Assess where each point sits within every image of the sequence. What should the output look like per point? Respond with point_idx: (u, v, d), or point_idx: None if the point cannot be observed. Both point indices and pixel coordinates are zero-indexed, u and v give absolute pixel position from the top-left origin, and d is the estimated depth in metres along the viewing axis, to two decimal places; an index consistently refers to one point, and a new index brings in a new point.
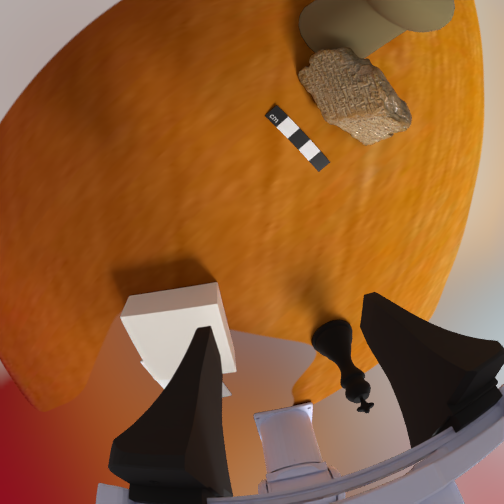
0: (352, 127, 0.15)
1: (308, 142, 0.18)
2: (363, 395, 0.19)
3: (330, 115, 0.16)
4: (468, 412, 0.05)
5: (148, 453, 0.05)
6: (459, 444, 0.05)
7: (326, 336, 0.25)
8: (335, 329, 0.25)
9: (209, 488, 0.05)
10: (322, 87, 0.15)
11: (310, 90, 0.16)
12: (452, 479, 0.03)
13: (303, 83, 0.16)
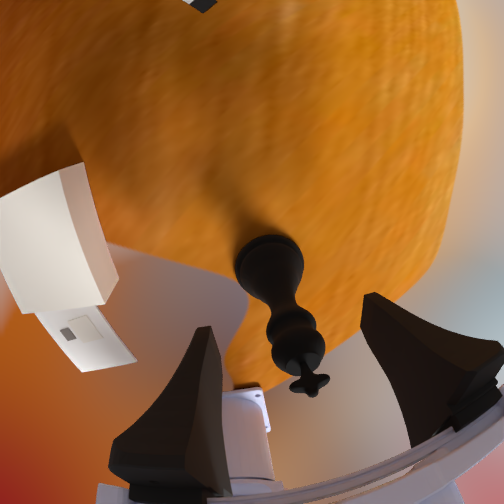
0: None
1: None
2: (306, 357, 0.10)
3: None
4: (468, 412, 0.05)
5: (149, 452, 0.05)
6: (459, 444, 0.05)
7: (252, 257, 0.16)
8: (267, 246, 0.16)
9: (209, 488, 0.05)
10: None
11: None
12: (452, 479, 0.03)
13: None
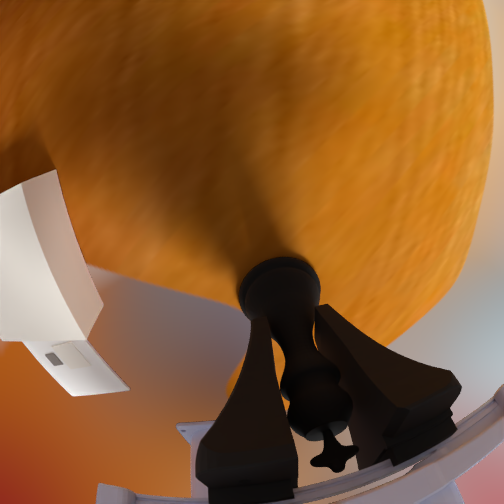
0: None
1: None
2: (331, 425, 0.07)
3: None
4: (409, 446, 0.05)
5: (252, 448, 0.05)
6: (459, 444, 0.05)
7: (260, 286, 0.13)
8: (279, 273, 0.13)
9: (294, 478, 0.05)
10: None
11: None
12: (452, 479, 0.03)
13: None
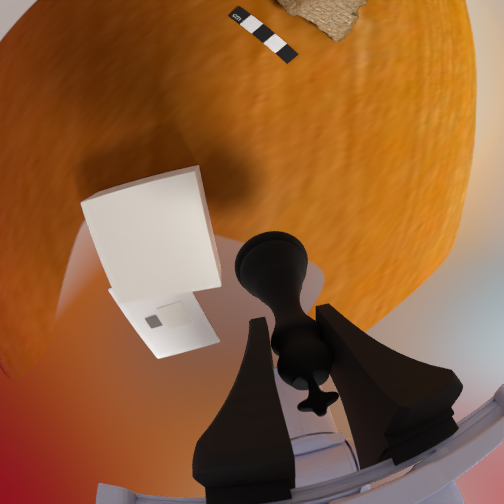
0: (314, 12, 0.12)
1: (273, 35, 0.14)
2: (313, 374, 0.09)
3: (291, 4, 0.12)
4: (411, 446, 0.05)
5: (249, 449, 0.05)
6: (459, 444, 0.05)
7: (251, 259, 0.15)
8: (267, 246, 0.15)
9: (292, 478, 0.05)
10: None
11: None
12: (452, 479, 0.03)
13: None
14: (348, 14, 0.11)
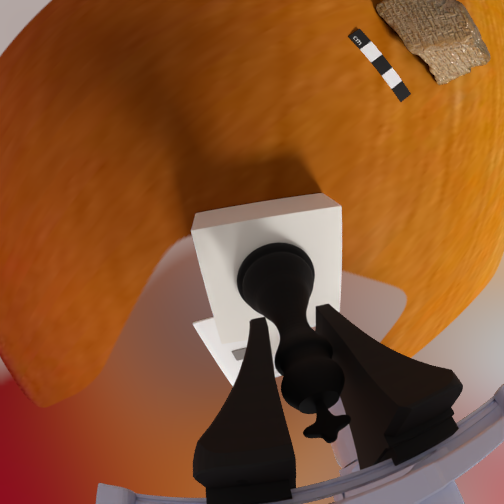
0: (436, 57, 0.11)
1: (390, 69, 0.13)
2: (322, 396, 0.08)
3: (415, 43, 0.11)
4: (410, 446, 0.05)
5: (249, 448, 0.05)
6: (459, 444, 0.05)
7: (253, 272, 0.14)
8: (269, 258, 0.14)
9: (292, 478, 0.05)
10: (405, 17, 0.10)
11: (390, 21, 0.11)
12: (452, 479, 0.03)
13: (382, 15, 0.11)
14: (465, 68, 0.10)
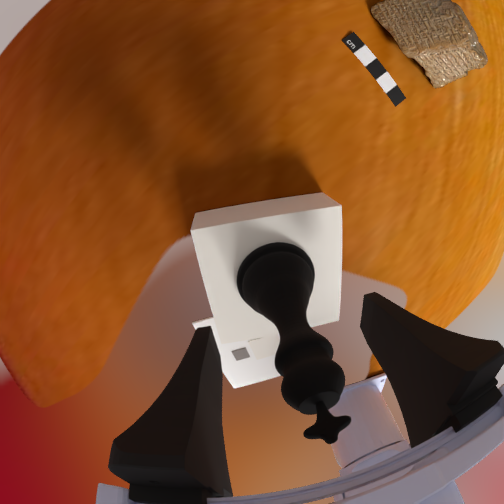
0: (431, 60, 0.11)
1: (385, 73, 0.13)
2: (322, 396, 0.08)
3: (410, 46, 0.11)
4: (468, 412, 0.05)
5: (148, 452, 0.05)
6: (459, 444, 0.05)
7: (253, 272, 0.14)
8: (269, 258, 0.14)
9: (209, 488, 0.05)
10: (400, 20, 0.10)
11: (385, 23, 0.11)
12: (452, 479, 0.03)
13: (377, 17, 0.11)
14: (461, 71, 0.10)
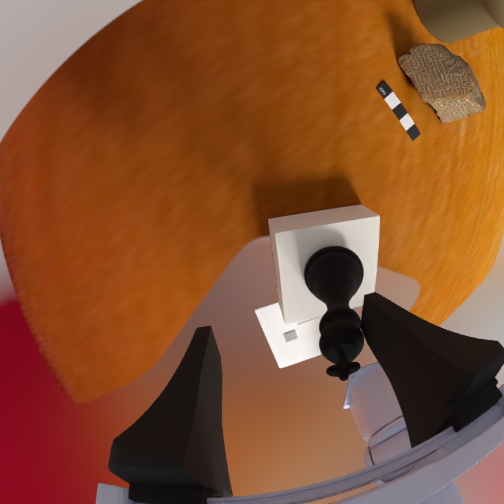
0: (443, 106, 0.15)
1: (406, 114, 0.18)
2: (344, 348, 0.12)
3: (427, 94, 0.15)
4: (468, 412, 0.05)
5: (148, 453, 0.05)
6: (459, 444, 0.05)
7: (316, 265, 0.18)
8: (329, 256, 0.18)
9: (209, 488, 0.05)
10: (421, 72, 0.15)
11: (409, 73, 0.16)
12: (452, 479, 0.03)
13: (402, 67, 0.16)
14: (465, 114, 0.15)
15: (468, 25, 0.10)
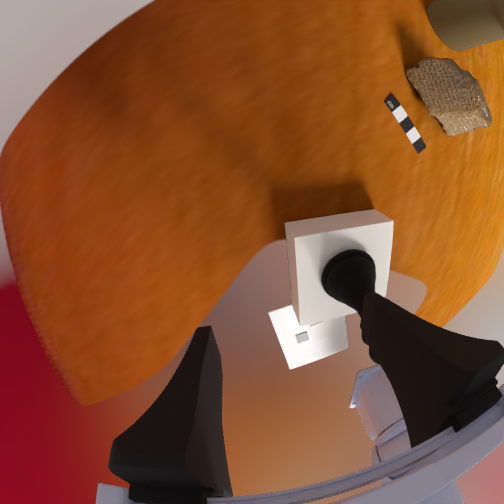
0: (449, 120, 0.16)
1: (413, 128, 0.18)
2: None
3: (434, 108, 0.16)
4: (468, 412, 0.05)
5: (149, 453, 0.05)
6: (459, 444, 0.05)
7: (339, 270, 0.18)
8: (351, 260, 0.18)
9: (209, 488, 0.05)
10: (429, 86, 0.15)
11: (417, 86, 0.16)
12: (452, 479, 0.03)
13: (410, 80, 0.16)
14: (470, 128, 0.15)
15: (480, 35, 0.10)
